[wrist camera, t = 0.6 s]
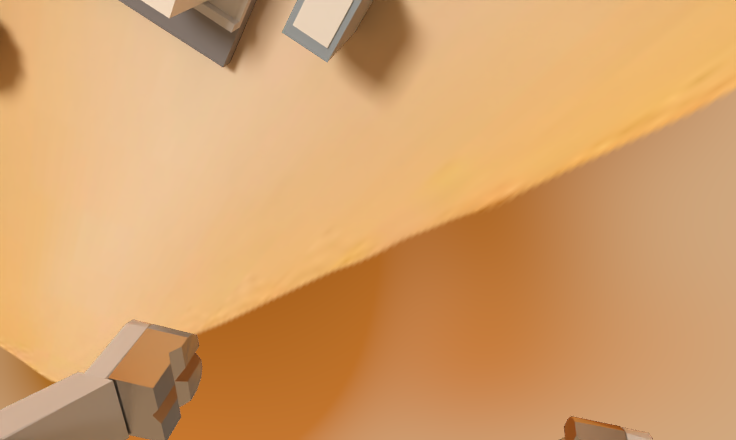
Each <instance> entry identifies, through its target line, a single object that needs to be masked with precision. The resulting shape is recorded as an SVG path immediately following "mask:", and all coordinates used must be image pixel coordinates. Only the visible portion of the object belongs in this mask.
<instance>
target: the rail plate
mask: <svg viewBox="0 0 736 440" xmlns="http://www.w3.org/2000/svg"><path fill="white" fill-rule="evenodd" d="M119 1H121V2H122V3H124V4H125V5H127V6H128V7H130V8H131V9H133V10H135V11H136V12H138V13H139V14H141V15H142V16H144V17H145V18H147V19H149V20H150V21H152V22H153V23H155V24H156V25H158V26H159V27H161V28H163V29H164V30H166V31H167V32H169V33H170V34H172V35H173V36H175V37H177V38H178V39H180V40H181V41H183V42H184V43H186V44H187V45H189V46H191V47H192V48H194V49H195V50H197V51H198V52H200V53H201V54H203V55H205V56H206V57H208V58H209V59H211V60H212V61H214V62H215V63H217V64H219V65H220V66H222V67H224V66H225V65H227V64H228V63H230V61H231V58H232V56H233V54H234V51H235V49H236V47H237V44H238V42H239V39H240V37H241V35H242V32H243V30H244V28H245V25H246V23H247V21H248V18H249V16H250V14H251V11H252V9H253V7H254V4H255V2H256V0H119Z"/></svg>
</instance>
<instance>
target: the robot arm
mask: <svg viewBox="0 0 736 440" xmlns="http://www.w3.org/2000/svg"><path fill="white" fill-rule="evenodd" d="M198 347H199V342H198V337H197V335H194V334H191V333H187V332H183V331H179V330H175V329H171V328H167V327H162V326H158V325H154V324H150V323H146V322H141V321H137V320H131V321H130V322H128V323H126V324H125V325H124V326H123V328H122V329H121V330H120V331H119V332H118V334H117V335H116V336H115V337H114V338H113V339H112V341H111V342H110V343H109V344H108V345H107V347H106V348H105V349H104V350H103V351H102V353H101V354H100V355H99V356H98V357H97V359H96V360H95V361H94V362H93V363H92V364H91V366H90V367H89V368H88V369H87V370H86V372H85V373H81V372H77V373H75V374H73V375H71V376H69V377H67V378H65V379H63V380H61V381H59V382H56V383H54V384H53V385H50V386H48V387H46V388H44V389H42V390H40V391H38V392H36V393H34V394H32V395H30V396H28V397H26V398H24V399H22V400H20V401H18V402H15V403H13V404H11V405H9V406H7V407H5V408H3V409H1V410H0V440H126V439H127V438H129V435H132V436H136V437H141V438H145V439H150V440H168V438H169V436H170V435H171V433H172V431H173V430H174V428H175V426H176V425H177V423H178V421H179V420H180V418H181V414H180V408H179V407H181V406H182V405H184V404H186V403H187V402H189V401H191V399H192V397H193V396H194V394H195V392H196V391H197V388H198V385H199V382H200V379H201V374H202V363H201V359H200V358H199V357H198V355H197V354H196V353H195V352H196V350H197V348H198ZM564 432H565V437H564V438H562V439H560V440H653V438H652V437H651V435H650V434H649V433H646V432H641V431H637V430H633V429H628V428H623V427H620V426H617V425H612V424H607V423H602V422H597V421H592V420H587V419H582V418H577V417H573V416H571V417H570V418H568V419H567V422H566V424H565V426H564Z"/></svg>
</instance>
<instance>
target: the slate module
mask: <svg viewBox="0 0 736 440" xmlns="http://www.w3.org/2000/svg"><path fill="white" fill-rule="evenodd" d="M372 1H373V0H297V2H296V4H295V6H294V8H293V10H292V12H291V14H290V16H289V19H288V21H287V23H286V25H285V27H284V29H283V31H282V33H284V34H285V35H287V36H288V37H290V38H291V39H293V40H294V41H296V42H297V43H299V44H300V45H302V46H303V47H305V48H306V49H308V50H309V51H311V52H312V53H314V54H315V55H317V56H318V57H320V58H321V59H323V60H324V61H326V62H328V61H329V60H330V59H331V58H332V57H333V56H334V55H335V53H336V52H337V51H338V50H339V49H340V48H341V47H342V46H343V45H344V44H345V42H346V41H347V40H348V39H349V38H350V37H351V36H352V35H353V34H354V33H355V31H356V30H357V28H358V26H359V24H360V22H361V21H362V19H363V17H364V15H365V14H366V12H367V10H368V8H369V7H370V5H371V3H372Z"/></svg>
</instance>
